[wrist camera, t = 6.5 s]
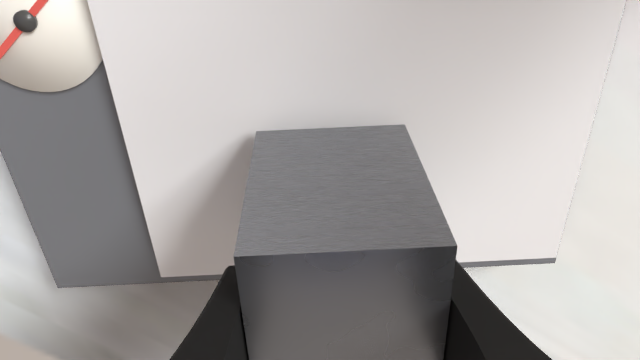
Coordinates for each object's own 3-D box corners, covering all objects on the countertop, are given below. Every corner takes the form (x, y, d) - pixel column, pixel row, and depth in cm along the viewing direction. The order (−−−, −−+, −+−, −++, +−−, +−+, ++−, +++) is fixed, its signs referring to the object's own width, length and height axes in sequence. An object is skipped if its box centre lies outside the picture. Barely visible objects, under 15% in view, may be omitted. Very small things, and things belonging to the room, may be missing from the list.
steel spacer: (268, 249, 18) (255, 401, 12) (256, 130, 15) (233, 257, 10) (398, 243, 18) (439, 392, 12) (404, 124, 15) (457, 246, 10)
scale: (76, 255, 22) (49, 302, 20) (-96, -206, 14) (-180, -221, 11) (535, 232, 22) (563, 276, 20) (646, -235, 14) (718, -256, 11)
